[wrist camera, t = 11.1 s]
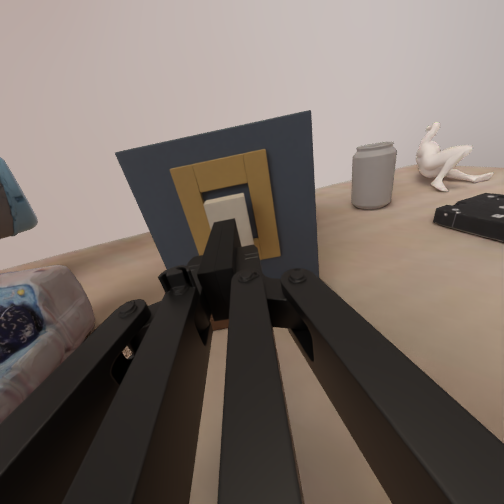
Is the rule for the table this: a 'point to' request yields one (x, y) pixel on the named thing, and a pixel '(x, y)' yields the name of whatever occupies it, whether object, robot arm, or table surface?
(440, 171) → the person figurine
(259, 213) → the switch wall
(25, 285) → the cell model
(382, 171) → the can
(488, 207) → the disk drive
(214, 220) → the switch paddle
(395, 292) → the table surface
